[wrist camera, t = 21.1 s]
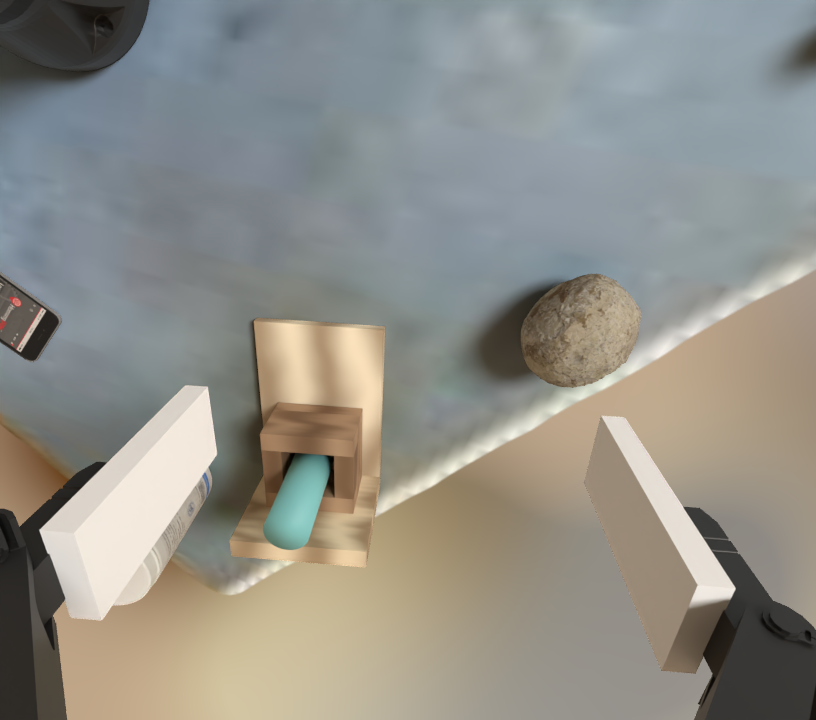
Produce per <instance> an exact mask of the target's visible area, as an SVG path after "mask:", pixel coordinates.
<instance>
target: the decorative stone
mask: <svg viewBox="0 0 816 720" xmlns="http://www.w3.org/2000/svg"><path fill="white" fill-rule="evenodd" d="M641 316H642V314H641V311H640V309H639V307H638V306H637V304H636V303H635V301H634V300H633V298H632V297H631V296H630V295H629V293H628V292H626V290H625V289H624V288H623V287H621V286H620V285H619V284H618V283H617V281H615V280H612V279H610V278H608V277H606V276H603V275H601V274H587V275H584V276H580V277H577V278H574V279H573V280H569V281H566V282H563V283H561V284H559V285H557V286H556V287H554V288H552V289H551V290H550V291H549V292H547V293H546V294H545V295H544V296H543V297H541V298H540V299H539V301H538V302H537V303H536V304H535V305H534V306H533V308H532V309H531V310H530V312H529V314H528V315H527V318H526V319H524V322H523V326H522V329H521V341H520V343H521V349H522V353H523V356H524V359H525V361H526V364H527V366H528V367H529V368H530V370H532V371H533V372H534V373H535V374H536V375H537V376H539V377H540V379H543V380H545V381H546V382H547V383H550V384H553V385H556V386H560V387H572V388H573V387H577V386H585V385H586V384H592V383H593V382H596V381H598V380H599V379H602V378H603V377H604V376H605V375H608V374H611V373H612V372H614V371H615V370H616V369H617V368H619V367H620V366H621V364H623V363H626V361H627V359H628V357H629V355H630V353H631V351H632V350H633V347H634V345H635V344H636V340H637V337H638V330H639V325H640V319H641Z"/></svg>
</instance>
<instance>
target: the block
mask: <svg viewBox="0 0 816 720" xmlns="http://www.w3.org/2000/svg"><path fill="white" fill-rule="evenodd" d="M362 419H363V408H349V407H336V406H322V405H308V404H295V403H281V402H279V403H278V404H277V406H276V408H275V409H274V411H273V413H272V414H271V416H270V418H269V419H268V421H267V423H266V424H265V426H264V428H263V429H262V431H261V433H260V440H261V451H262V462H263V472H264V483H265V494H266V504H267V507H272V505H273V503H274V501H275V499H276V496H277V494H278V492H279V490H280V487H281V485H282V483H283V481H284V478H285V476H286V474H287V472H288V469H289V467H290V465H291V462H292V460H293V458H294V456H295V453H305V454H318V455H331V456H334V462H333V465H332V468H331V471H330V475H329V478H328V481H327V484H326V487H325V490H324V493H323V497H322V500H321V503H320V506H319V509H318V511H323V512H335V513H348V514H353V513H354V509H355V505H356V500H357V496H358V491H359V487H360V483H361V478H362Z"/></svg>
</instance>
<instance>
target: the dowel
mask: <svg viewBox="0 0 816 720" xmlns="http://www.w3.org/2000/svg"><path fill="white" fill-rule="evenodd" d="M333 462H334V456H331V455H318V454H305V453H295V456H294V458H293V460H292V462H291V465H290V467H289V469H288V472H287V474H286V476H285V478H284V481H283V483H282V485H281V487H280V490H279V492H278V494H277V496H276V499H275V501H274V503H273V505H272V508H271V510H270V512H269V514H268V517H267V519H266V521H265V523H264V526H263V533H264V536H265V538H266V539H267V540H268V541H269V542H270V543H271V544H272V545H274V546H276V547H278V548H281V549H284V550H296V549H299V548H301V547H303V546H304V545H306V544H307V542H308V540H309V537H310V534H311V531H312V528H313V525H314V522H315V519H316V515H317V512H318V509H319V506H320V503H321V500H322V497H323V493H324V490H325V487H326V484H327V481H328V478H329V475H330V471H331V468H332V465H333Z"/></svg>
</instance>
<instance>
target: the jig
mask: <svg viewBox="0 0 816 720" xmlns="http://www.w3.org/2000/svg"><path fill="white" fill-rule="evenodd" d="M254 331H255V342H256V353H257V364H258V375H259V386H260V397H261V408H262V419H263V428H264V426H265V424H266V423H267V421H268V419H269V418H270V416H271V414H272V413H273V411H274V409H275V408H276V406H277V404H278V403H279V402H281V403H295V404H308V405H322V406H336V407H349V408H363V419H362V478H361V483H360V487H359V491H358V496H357V500H356V505H355V509H354V513H353V514H348V513H335V512H323V511H318V512H317V515H316V519H315V522H314V525H313V528H312V531H311V534H310V537H309V540H308V542H307V544H306V545H304V546H303V547H301V548H299V549H296V550H284V549H281V548H278V547H276V546H274V545H272V544H271V543H270V542H269V541H268V540H267V539H266V538H265V536H264V533H263V526H264V523H265V521H266V519H267V517H268V514H269V512H270V510H271V508H272V507H267V504H266V494H265V483H264V475H263V477H262V479H261V481H260V483H259V484H258V486H257V488H256V490H255V492H254V494H253V496H252V498H251V500H250V502H249V504H248V506H247V508H246V510H245V512H244V513H243V515H242V517H241V519H240V521H239V523H238V525H237V527H236V529H235V531H234V533H233V535H232V537H231V539H230V547H231V554H232V556H237V557H249V558H261V559H272V560H284V561H296V562H308V563H320V564H332V565H344V566H356V567H366V565H367V559H368V553H369V547H370V541H371V535H372V529H373V524H374V518H375V512H376V506H377V500H378V494H379V488H380V471H381V440H382V408H383V376H384V345H385V326H372V325H357V324H342V323H328V322H313V321H298V320H283V319H269V318H256V319H255V320H254Z"/></svg>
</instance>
